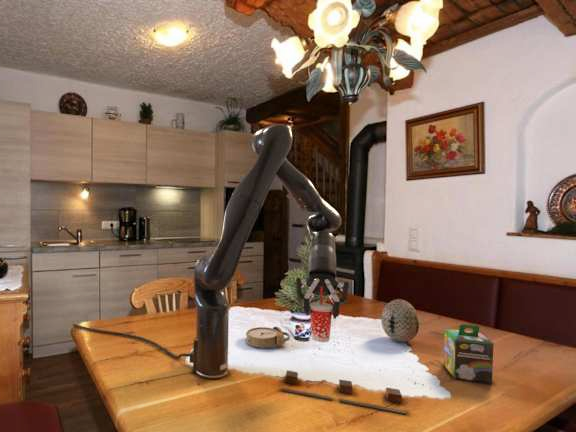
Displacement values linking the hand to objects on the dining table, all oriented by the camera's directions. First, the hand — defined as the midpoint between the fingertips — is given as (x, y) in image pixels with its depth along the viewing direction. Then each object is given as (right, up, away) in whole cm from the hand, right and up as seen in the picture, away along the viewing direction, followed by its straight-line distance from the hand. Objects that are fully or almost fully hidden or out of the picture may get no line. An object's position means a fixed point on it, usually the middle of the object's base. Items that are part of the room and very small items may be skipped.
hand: (321, 315), depth 92 cm
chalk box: (+46, -20, +10) cm, 51 cm away
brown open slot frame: (+11, -20, -4) cm, 23 cm away
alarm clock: (-7, -19, +31) cm, 37 cm away
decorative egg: (+41, -19, +35) cm, 57 cm away
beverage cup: (0, -7, +2) cm, 7 cm away
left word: (-4, -19, +1) cm, 20 cm away
